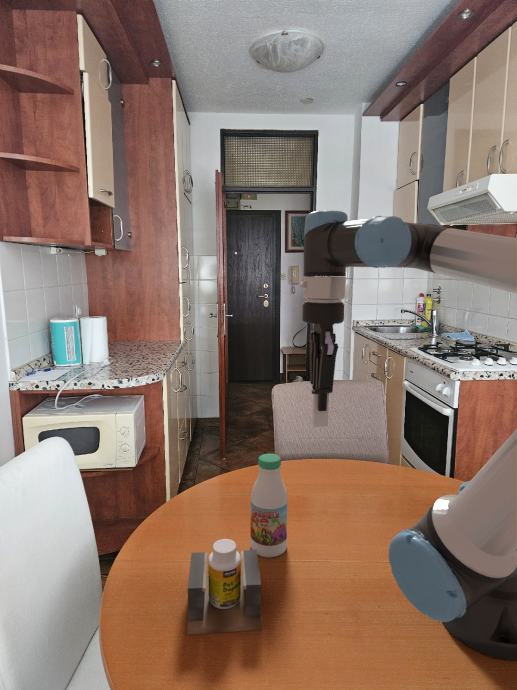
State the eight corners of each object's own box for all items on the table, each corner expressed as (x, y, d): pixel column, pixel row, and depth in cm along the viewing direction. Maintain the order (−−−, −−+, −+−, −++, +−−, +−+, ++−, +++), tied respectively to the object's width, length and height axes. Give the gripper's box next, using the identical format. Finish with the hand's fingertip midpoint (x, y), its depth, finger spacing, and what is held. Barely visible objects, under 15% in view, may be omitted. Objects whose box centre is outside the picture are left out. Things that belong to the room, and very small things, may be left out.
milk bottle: (251, 535, 95) (251, 449, 92) (286, 536, 95) (288, 450, 92) (249, 558, 88) (249, 465, 84) (287, 559, 87) (289, 466, 84)
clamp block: (256, 578, 82) (256, 544, 81) (262, 629, 70) (262, 591, 69) (192, 581, 81) (191, 547, 80) (187, 634, 69) (186, 595, 68)
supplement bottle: (222, 616, 71) (221, 560, 70) (202, 598, 75) (201, 545, 74) (247, 599, 75) (247, 546, 73) (227, 582, 79) (226, 531, 77)
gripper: (296, 298, 85) (294, 414, 88) (310, 303, 72) (307, 438, 76) (334, 298, 85) (330, 413, 89) (354, 303, 72) (349, 437, 76)
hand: (319, 425), depth 82 cm, fingers closed
